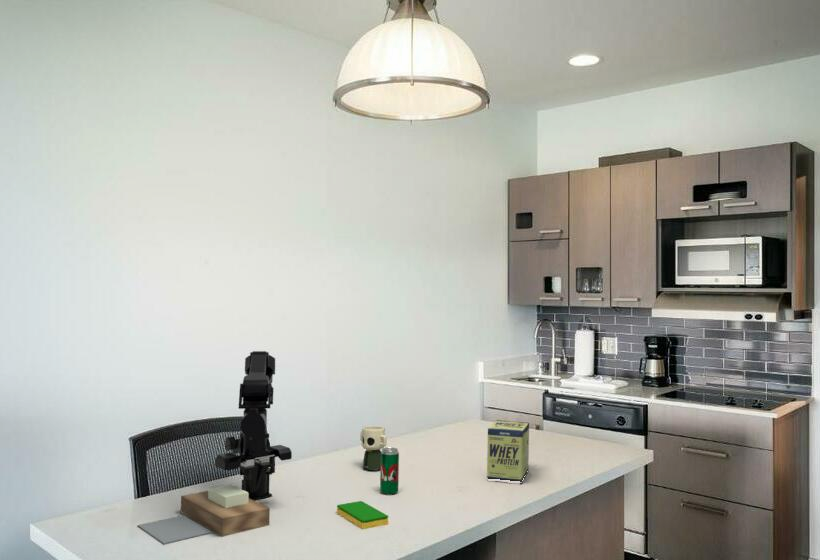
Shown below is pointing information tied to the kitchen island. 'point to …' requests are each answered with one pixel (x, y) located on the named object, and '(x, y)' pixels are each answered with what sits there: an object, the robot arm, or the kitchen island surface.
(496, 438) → the protein box
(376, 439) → the character mug
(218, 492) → the sage tile
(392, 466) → the soda can
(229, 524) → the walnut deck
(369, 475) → the kitchen island surface
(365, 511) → the dish sponge
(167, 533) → the slate mat
